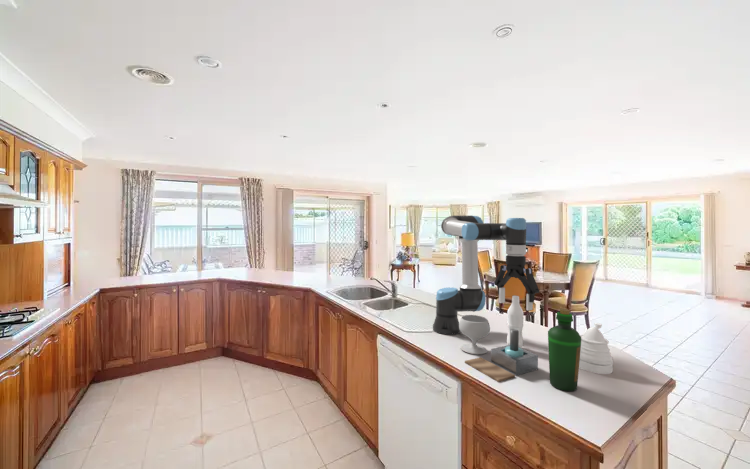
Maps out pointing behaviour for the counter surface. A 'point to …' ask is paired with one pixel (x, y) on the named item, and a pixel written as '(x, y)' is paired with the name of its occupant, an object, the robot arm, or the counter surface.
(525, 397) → the counter surface
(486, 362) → the walnut mat
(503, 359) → the box
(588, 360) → the honey pot
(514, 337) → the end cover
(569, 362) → the bottle
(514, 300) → the water bottle
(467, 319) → the chalice
